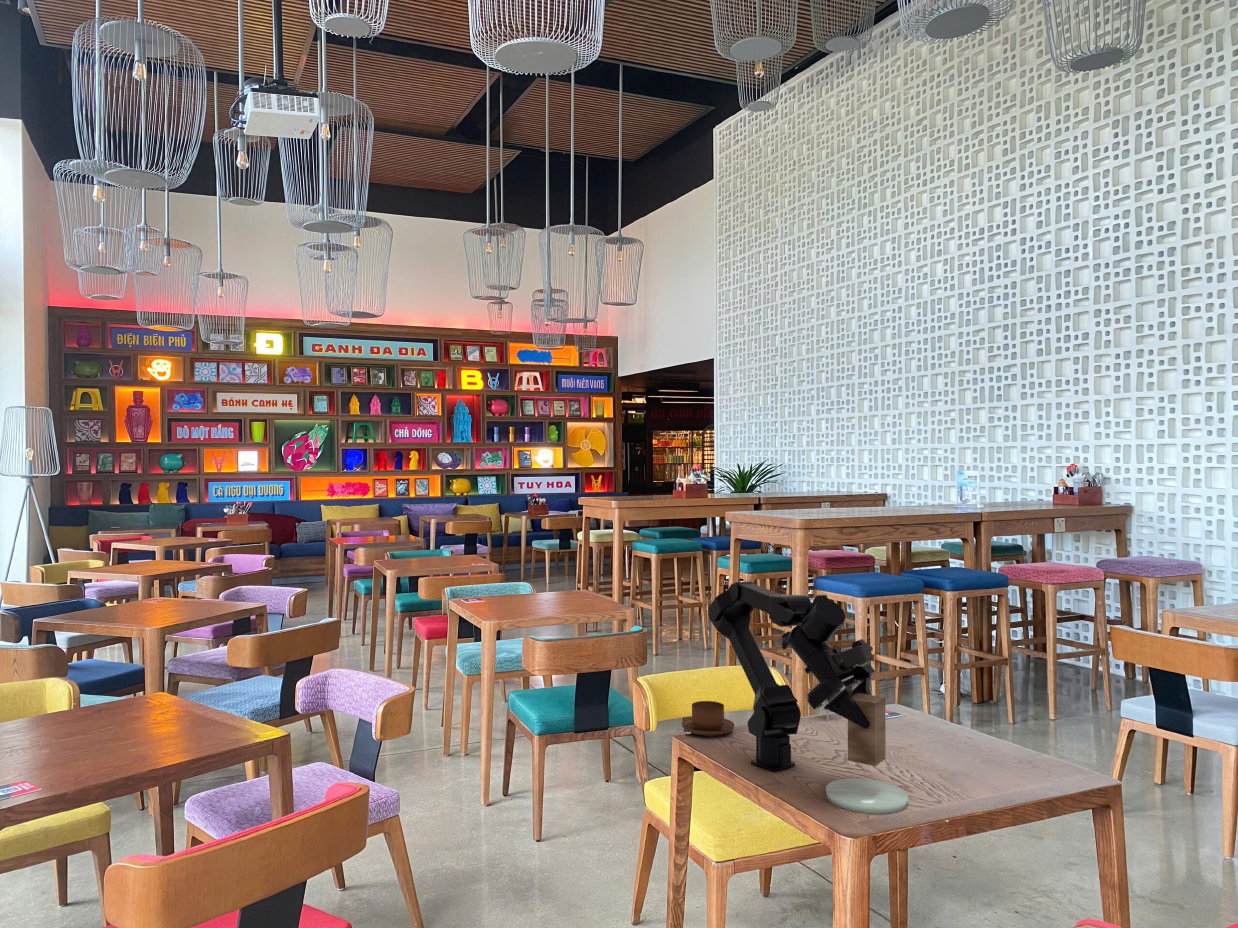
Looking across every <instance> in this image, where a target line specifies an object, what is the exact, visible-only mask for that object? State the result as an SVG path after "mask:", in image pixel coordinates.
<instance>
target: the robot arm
mask: <svg viewBox="0 0 1238 928" xmlns="http://www.w3.org/2000/svg"><path fill="white" fill-rule="evenodd" d="M755 608H756V610H760V611H762V612H764V613H766V614H767V615H768V618H769V620H770V621H771V622H773V624H775V625H777V627H780V628H783V627H785V628H786V627H793V628H791V631H787V632H785V633H783V634H782V635H781V638H782V641H781V642H782V643H781V648H782V650H787V649H788V648H791V649H792V650H793V652H795V654H796V655H797V657H799V659H800V660H801V661H802V662H803V664H804V665H805V666H806V667H805V668H804V669H803V670H804V671H805V673H806V674H807V675H809V674H812V675H813V676H814V677H815V678H816V680H817V681H818V684H816V686H814V688H813V689H811V690H810V691H809V692H807V698H806V699H807V700H806V701H807V703H808V704H809V706H810V707H811V708H812V710H813V711H815V710H817V709H819V708H821V707H823V703H824V702H825V701H826V705H825V706H824V707H823V709H824V710H826V711H827V710H829V712H832V713H835V714H836V715H838V716H841V717H843V718H845V720H847V721H848V720H850V721H852V722H854V723H855V724H857V725H859V726H861V727H863V728H865V729H867V728H868V727H869V726H870V723H869V722H868V720H867V718H866V717H865V715H864V714H863V712H862V711H861V709H860V708H859V706H858V705H857V703H856V702H855V700H854V699H853V696H854V695H856V694H858V693H862V694H868V695H872V693H871V691H870V684H871V680H872V676H873V675H874V674H875V673H876V670H875V669H874V668H873V666H871V664H870V663H868V662H871V661H874V660H875V658H874V656H873V654H872V651H873V650H874V648H873V646H871V645H870V644H869V642H866V641H865V640H864V638H860V639H858V640H856V641H852V642H851V648H848V649H846V650H844V651H842V650H841V649H840V648H839V647H837V646H833V647H831V646H830V645H829V643H827V641H828V640H830V639H831V638H832V636H834V634H835V633H836V632H837V631H838V630H839V629H840V628H841V626H842V625H843V624H844V622H845V620H846V614H845V611H844V608H842V607H841V606H840V605H839V604H838V603H837V602H834V601H833V600H831V599H829V598H828V596H827V594H817V595H815V596H814V599H813V601H811V599H810V597H808V596H807V595H802V594H781V593H779V592H777V591H774V590H771V589H769V588H766V587H764V586H760V585H758V584H756V583H755V582H753V581H735V582H732V583H731V584H730V586H729V587H728V588H727V589H726V590H724V591H723V592H721V593H720V594H719V595H717V596H716V597H714V599H713V601H712V602H711V603H710V605H709V607H708V611H707V612H708V619H709V620H710V622H711V623H712V625H713V626H714V628H715V631H717V632H718V633H719V634H721V635H722V636H723V637H725V638H726V639H727V640H728V641H729V642H730V644H731V646H732V649H733V651H734V652H735V655H736V657H737V660H738V661H739V663H740V665H741V668H742V670H743V672H744V674H745V677H746V678H747V681H748V682H749V685H750V687H751V689H752V691H753V693H754V700H753V704H752V705H753V706H752V709H753V713H752V715H751V717H750V718H749V719H748V721H747V728H748V733H749V734H751V735H753V736H755V745H756V746H755V749H756V751H755V752H756V753H755V754H756V755H755V757H756V758H755V759H750V764H752V765H755V766H758V767H760V768H763V769H765V770H768V771H771V772H777V771H780V770H784V769H787V768H791V767H794V766H796V762H795V761H792V744H791V743H790V742H791V741H790V740H791V739H790V738H791V736H790V735H798V730H799V726H800V721H801V718H802V717H801V716H802V713H801V708H800V707H799V704H798V701H799V700H798V699H797V698H796V697H795V695H794V693H793V690H792V688H791V687H790V686H789V684H781V685H780V684H778V683H777V682H776V679H775V677H774V676H773V673H772V671H771V669H770V668H769V665H768V664H767V663H768V662H767V661H766V659H765V658H764V656H763V653H762V651H761V649H760V647H759V645H758V643H757V641H756V640H755V637H754V636H753V634H752V631H751V629H750V626H751V619H752V615H751V614H752V612H753V611H754V610H755ZM827 702H828V704H827Z"/></svg>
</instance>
